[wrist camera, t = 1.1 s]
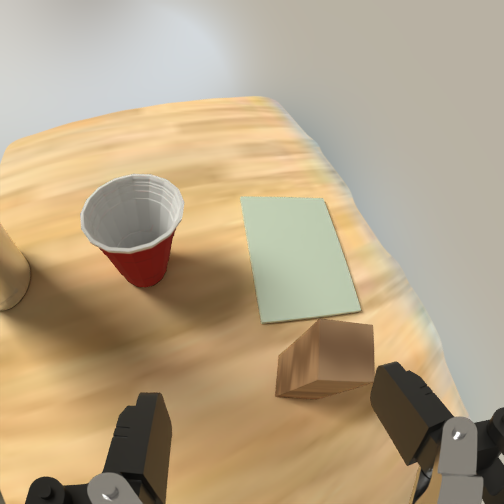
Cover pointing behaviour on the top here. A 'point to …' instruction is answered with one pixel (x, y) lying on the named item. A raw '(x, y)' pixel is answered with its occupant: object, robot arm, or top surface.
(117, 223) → the plastic cup
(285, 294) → the mat
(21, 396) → the top surface
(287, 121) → the top surface
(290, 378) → the walnut block
